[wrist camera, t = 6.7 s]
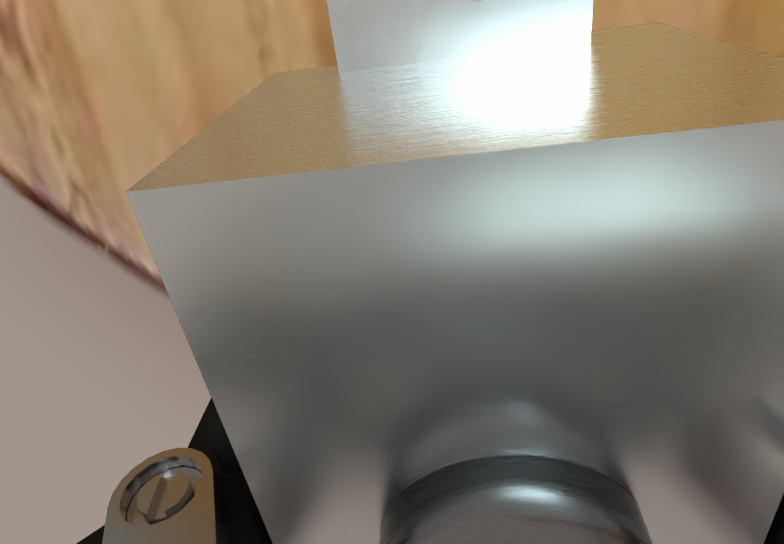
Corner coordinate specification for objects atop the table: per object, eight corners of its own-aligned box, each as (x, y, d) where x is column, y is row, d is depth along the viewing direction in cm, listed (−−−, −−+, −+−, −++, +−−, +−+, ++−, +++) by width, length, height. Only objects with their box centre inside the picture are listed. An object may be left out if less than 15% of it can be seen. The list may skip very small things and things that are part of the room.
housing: (253, -11, 8) (-84, 63, 3) (669, -72, 7) (1334, -145, 2) (374, 503, 14) (346, 827, 9) (602, 494, 14) (718, 839, 8)
